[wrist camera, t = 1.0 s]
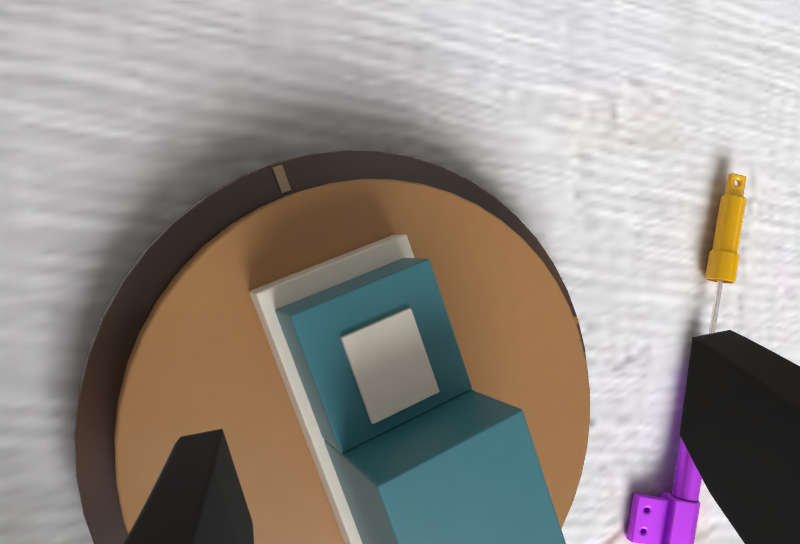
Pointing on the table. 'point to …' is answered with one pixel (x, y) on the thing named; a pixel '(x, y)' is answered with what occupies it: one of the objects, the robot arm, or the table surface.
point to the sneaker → (367, 372)
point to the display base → (176, 251)
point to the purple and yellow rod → (678, 511)
